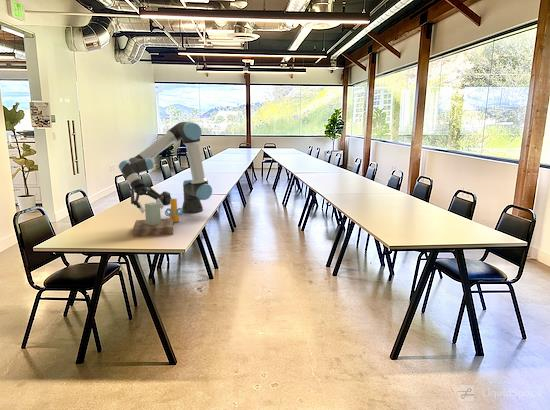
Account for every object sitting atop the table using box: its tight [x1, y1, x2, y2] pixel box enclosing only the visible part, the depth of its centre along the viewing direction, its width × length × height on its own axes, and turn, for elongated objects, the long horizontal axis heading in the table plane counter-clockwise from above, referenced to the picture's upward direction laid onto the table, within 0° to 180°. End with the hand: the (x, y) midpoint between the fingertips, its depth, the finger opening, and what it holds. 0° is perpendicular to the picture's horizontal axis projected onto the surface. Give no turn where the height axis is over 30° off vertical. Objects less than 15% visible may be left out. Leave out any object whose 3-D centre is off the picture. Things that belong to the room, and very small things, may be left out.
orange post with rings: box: [164, 198, 184, 223], centre depth 250 cm, size 12×10×15 cm
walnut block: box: [132, 217, 174, 238], centre depth 230 cm, size 22×22×5 cm
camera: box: [155, 190, 173, 205], centre depth 307 cm, size 13×10×10 cm
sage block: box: [144, 202, 162, 225], centre depth 228 cm, size 6×6×12 cm
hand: (153, 209), depth 227 cm, fingers open, 13 cm apart
